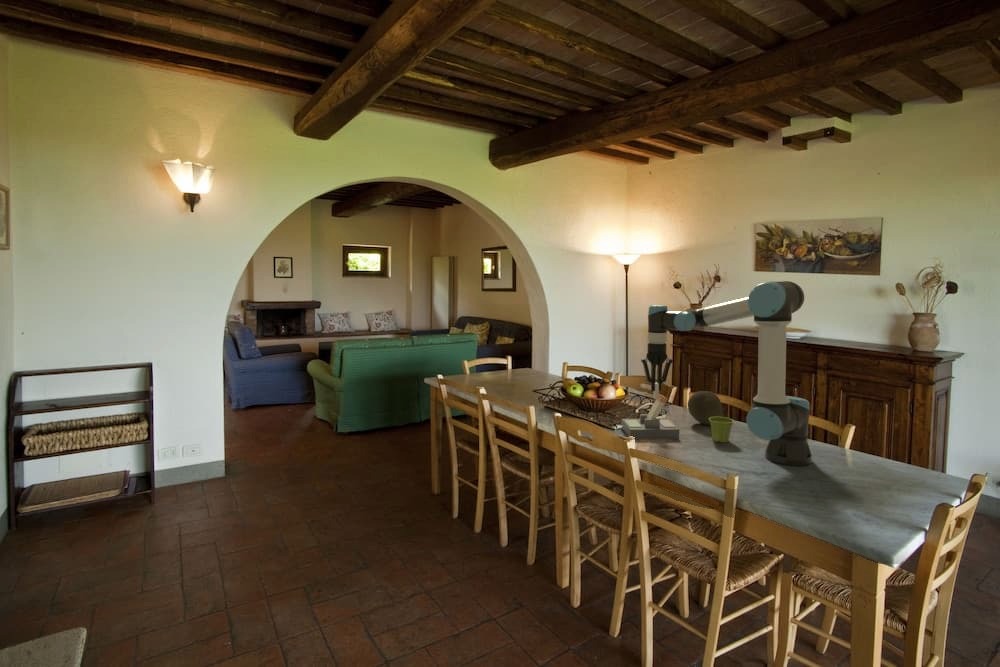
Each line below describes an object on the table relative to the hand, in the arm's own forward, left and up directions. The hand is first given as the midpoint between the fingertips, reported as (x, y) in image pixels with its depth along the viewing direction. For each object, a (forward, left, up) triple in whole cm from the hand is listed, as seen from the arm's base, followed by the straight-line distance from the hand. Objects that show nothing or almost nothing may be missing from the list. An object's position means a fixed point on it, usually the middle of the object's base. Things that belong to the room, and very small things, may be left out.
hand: (655, 398), depth 235 cm
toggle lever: (0, +3, -11) cm, 11 cm away
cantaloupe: (+13, -26, -15) cm, 33 cm away
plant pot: (-10, -24, -15) cm, 30 cm away
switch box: (0, +2, -15) cm, 15 cm away
